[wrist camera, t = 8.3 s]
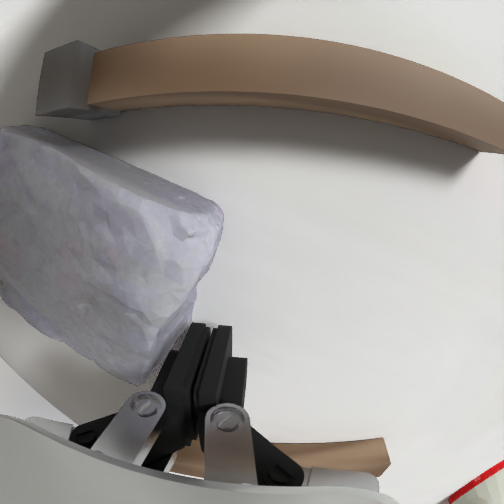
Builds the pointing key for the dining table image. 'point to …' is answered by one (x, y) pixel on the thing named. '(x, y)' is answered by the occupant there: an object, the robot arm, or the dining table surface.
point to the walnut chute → (272, 95)
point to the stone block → (100, 250)
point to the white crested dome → (483, 488)
